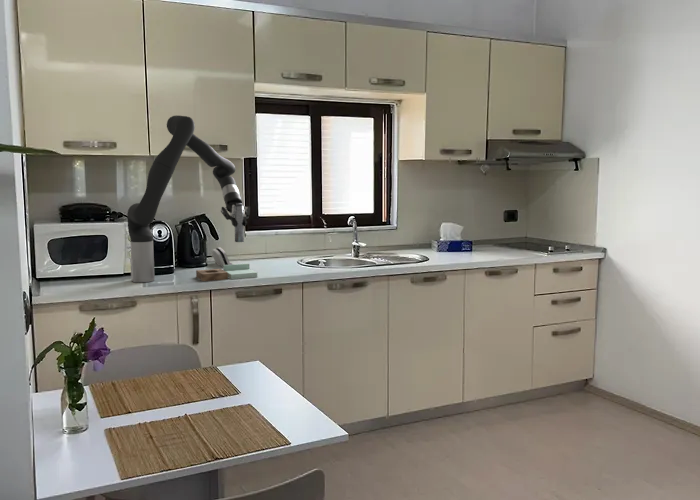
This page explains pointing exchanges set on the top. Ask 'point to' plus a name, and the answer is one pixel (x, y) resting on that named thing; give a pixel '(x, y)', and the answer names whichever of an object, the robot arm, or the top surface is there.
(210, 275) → the socket block
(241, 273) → the rack base
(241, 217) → the rod
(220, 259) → the grey curved piece
